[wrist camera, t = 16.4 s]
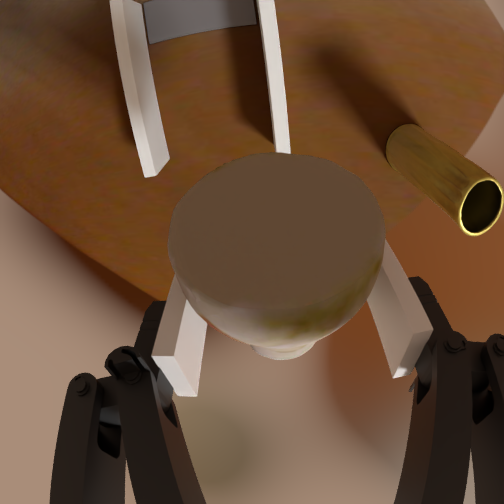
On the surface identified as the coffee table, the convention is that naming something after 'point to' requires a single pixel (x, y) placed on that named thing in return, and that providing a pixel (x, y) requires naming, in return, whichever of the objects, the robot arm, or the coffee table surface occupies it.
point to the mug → (277, 250)
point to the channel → (176, 25)
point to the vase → (446, 178)
